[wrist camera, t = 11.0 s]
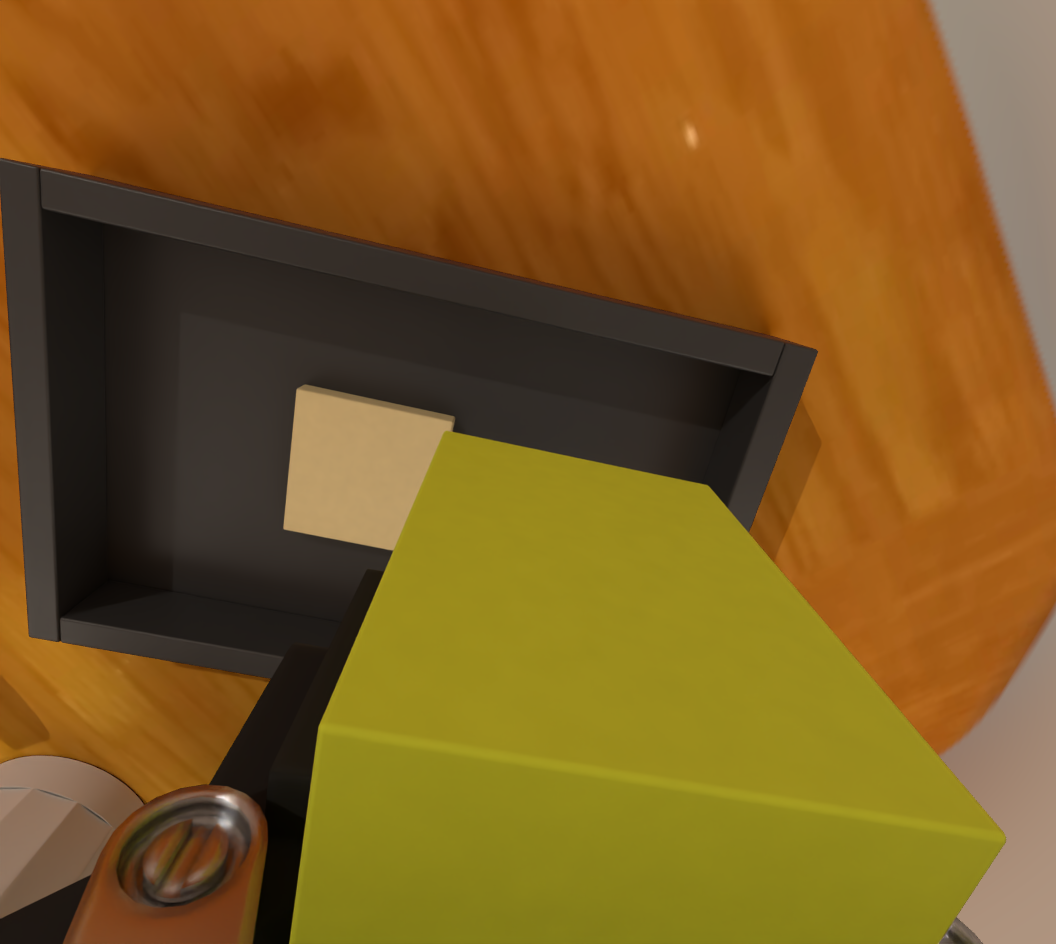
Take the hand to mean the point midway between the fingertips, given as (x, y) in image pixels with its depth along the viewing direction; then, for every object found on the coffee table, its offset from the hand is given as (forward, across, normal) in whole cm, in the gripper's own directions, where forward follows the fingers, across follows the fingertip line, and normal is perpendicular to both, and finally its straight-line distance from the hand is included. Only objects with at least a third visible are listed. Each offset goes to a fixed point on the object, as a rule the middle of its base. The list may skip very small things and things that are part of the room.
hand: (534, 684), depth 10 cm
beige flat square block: (+8, +4, 0) cm, 9 cm away
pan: (+8, +3, 0) cm, 9 cm away
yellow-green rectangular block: (+1, 0, 0) cm, 1 cm away
